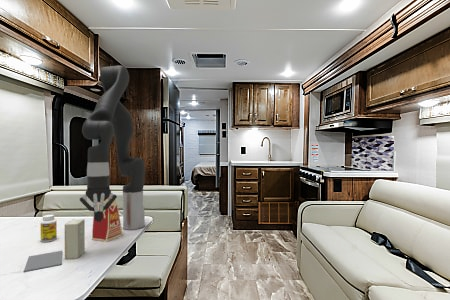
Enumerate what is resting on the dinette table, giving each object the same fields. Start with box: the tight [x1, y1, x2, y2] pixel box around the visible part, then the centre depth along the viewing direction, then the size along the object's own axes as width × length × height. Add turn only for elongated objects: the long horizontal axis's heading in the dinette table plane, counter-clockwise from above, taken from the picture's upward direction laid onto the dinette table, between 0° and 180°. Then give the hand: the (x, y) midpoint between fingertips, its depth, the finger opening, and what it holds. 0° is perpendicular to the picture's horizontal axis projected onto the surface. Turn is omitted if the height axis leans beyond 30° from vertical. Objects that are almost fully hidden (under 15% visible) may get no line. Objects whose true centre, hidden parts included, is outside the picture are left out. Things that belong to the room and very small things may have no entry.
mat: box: [23, 250, 63, 273], centre depth 91 cm, size 10×13×1 cm
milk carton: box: [91, 195, 124, 243], centre depth 114 cm, size 9×9×20 cm
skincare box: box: [64, 218, 86, 260], centre depth 95 cm, size 6×4×12 cm
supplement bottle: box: [40, 214, 58, 243], centre depth 111 cm, size 6×6×10 cm
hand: (98, 221), depth 99 cm, fingers closed
